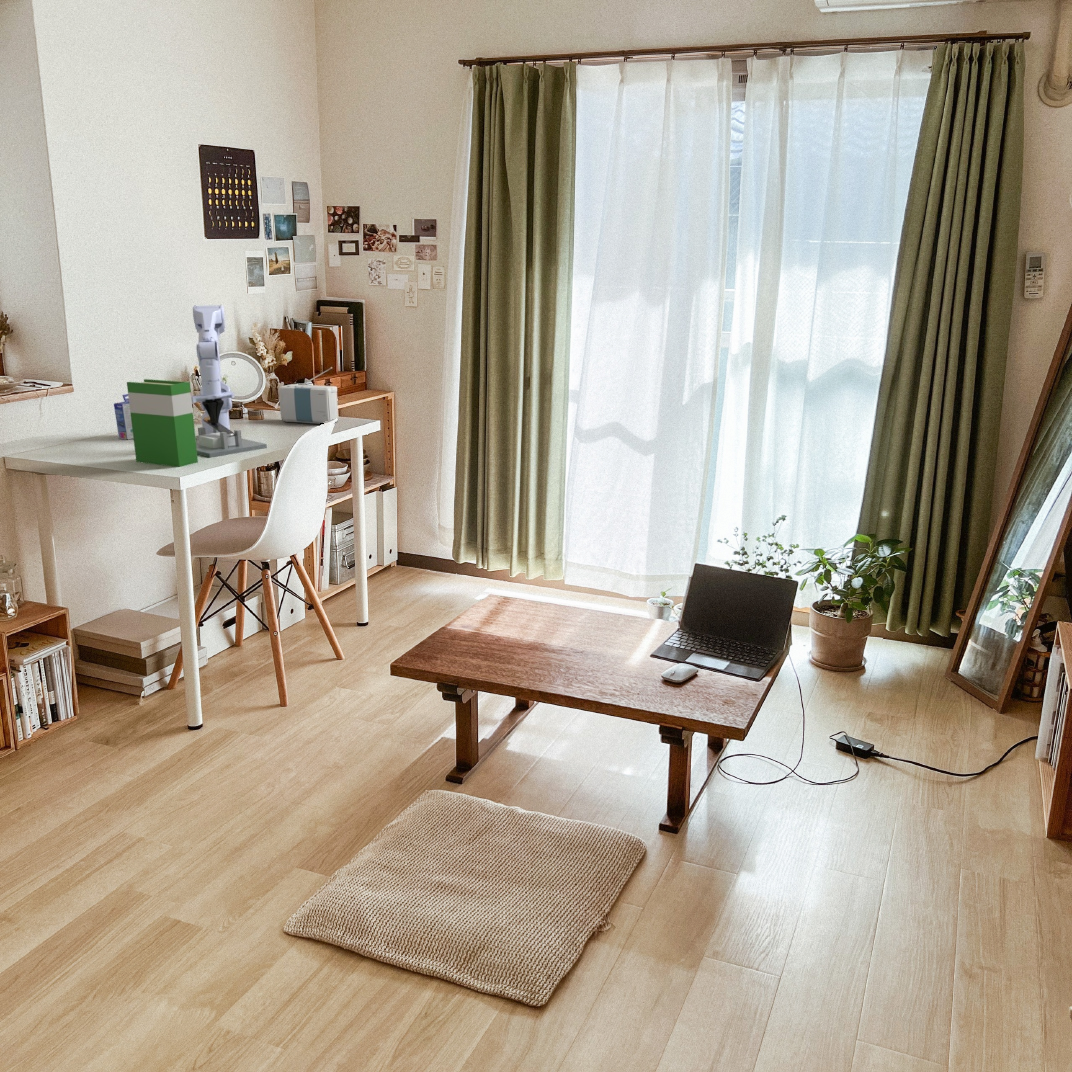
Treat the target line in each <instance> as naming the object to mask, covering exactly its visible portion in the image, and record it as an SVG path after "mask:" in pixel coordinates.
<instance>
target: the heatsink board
mask: <svg viewBox="0 0 1072 1072" xmlns="http://www.w3.org/2000/svg"><path fill="white" fill-rule="evenodd" d="M197 431H198V433H197V434H198V435H197V440H196V448H197V455H199V456H202V457H207V458H215V457H220V456H227V455H232V454H238V453H244V452H250V451H256V450H261V449H267V446H268V445H267V443H264V442H259V441H256V440H255V441H254V440H251V439H245V438H242V437H243V436H242V431H241V429H235V430H233V433H236V436H233V437H227V433H226V432H219V431H217V430H216V429H214V428H213V433H211V434H206V430H205V428H204V427H202V426H201V427H197Z"/></svg>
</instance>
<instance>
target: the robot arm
mask: <svg viewBox="0 0 1072 1072" xmlns="http://www.w3.org/2000/svg"><path fill="white" fill-rule="evenodd" d="M225 315H226V314H225V306H224V305H223V304H215V305H213V304H212V305H210V304H209V305H193V306H192V318H193V323H194V327H195V330H196V333H198V343H196V347H195V349H196V357H197V360H198V366H199V373H200V380H201V381H200V382H201V387H200V388H199V393H200V394H197V395H191V400H192V404H196V403H200V409H201V410H202V411H203V412H204V413H202V416H201V427H204V428H205V430H206V434H211V433H213V427H212V426H210V425H209V424H207V423H206V422H204V421H203V419H204V418H206V417H210V420H211V423H214V424H215V423H218V422H219V423H220V424H222V425H223V426H225V427H226V428H227V429H229V430H230V431H231V426H230V416H229V415H230V413H229V411H231V410H232V408H233V402H232V399H235V397H236V396H235V392H234V391H231V387H230V386H229V385H228V384H226V383H224V382H223V381H222V373H221V360H220V359H221V358H220V345H219V344H220V343H219V341H220V337H221V336H220V335H221V334H223V333H225V332H226V330H225V329H226V316H225Z"/></svg>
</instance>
